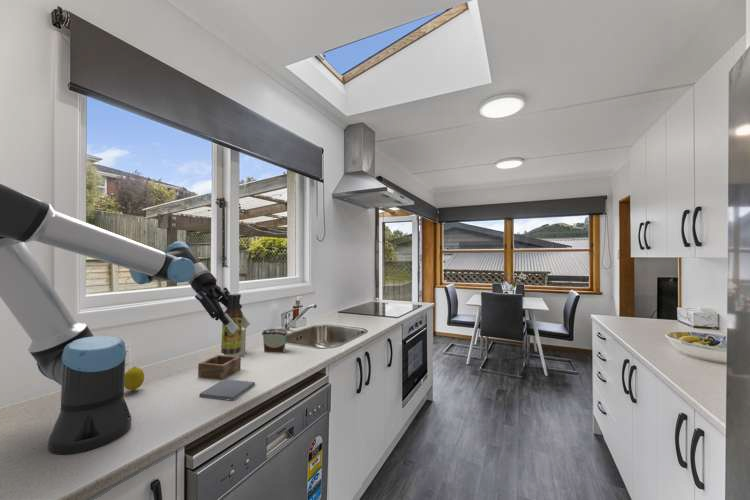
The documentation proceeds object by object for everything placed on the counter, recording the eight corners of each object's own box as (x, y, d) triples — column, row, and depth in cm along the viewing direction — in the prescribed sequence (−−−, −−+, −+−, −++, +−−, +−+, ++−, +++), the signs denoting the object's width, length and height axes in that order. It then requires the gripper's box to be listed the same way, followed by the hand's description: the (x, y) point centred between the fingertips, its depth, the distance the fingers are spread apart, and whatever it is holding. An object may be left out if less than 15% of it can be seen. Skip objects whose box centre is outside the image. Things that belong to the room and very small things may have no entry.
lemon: (147, 388, 103) (148, 364, 103) (130, 395, 98) (131, 370, 98) (135, 386, 105) (136, 363, 105) (118, 393, 99) (119, 368, 100)
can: (223, 352, 143) (224, 326, 144) (245, 350, 147) (245, 325, 148) (223, 358, 135) (224, 331, 135) (246, 355, 139) (246, 329, 139)
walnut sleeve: (223, 379, 112) (223, 365, 112) (198, 377, 114) (198, 363, 114) (240, 369, 122) (240, 356, 122) (217, 367, 124) (217, 354, 124)
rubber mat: (233, 400, 96) (233, 397, 96) (199, 396, 98) (199, 393, 98) (254, 384, 108) (254, 382, 108) (224, 381, 110) (224, 379, 110)
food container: (291, 349, 150) (291, 328, 150) (286, 353, 144) (286, 331, 144) (267, 348, 151) (267, 327, 151) (261, 352, 145) (261, 330, 145)
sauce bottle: (221, 356, 100) (223, 295, 100) (220, 351, 105) (221, 293, 105) (243, 353, 103) (244, 294, 103) (240, 348, 108) (241, 292, 109)
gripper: (212, 283, 117) (250, 329, 113) (170, 288, 98) (215, 343, 94) (225, 270, 116) (264, 315, 112) (185, 272, 97) (230, 327, 94)
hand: (241, 328), depth 103 cm, fingers closed on sauce bottle, 6 cm apart
